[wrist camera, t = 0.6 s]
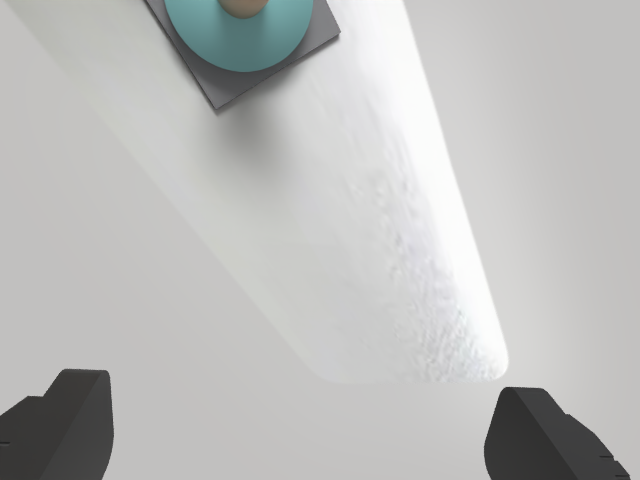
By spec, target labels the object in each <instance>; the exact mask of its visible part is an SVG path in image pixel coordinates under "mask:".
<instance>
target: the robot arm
mask: <svg viewBox="0 0 640 480" xmlns="http://www.w3.org/2000/svg"><path fill="white" fill-rule="evenodd" d="M110 385H111V384H110V376H109V373H108V371H106V370H83V369H64V370H62V371H61V372H60V373H59V375H58V376H57V377H56V379H55V380H54V382H53V383H52V385H51V386H50V388H49V389H48V390H47V392H46V393H45V394H44V396H43V397H40V396H39V397H38V396H27V397H26V398H25V399H23V400H22V401H20V402H19V403H17V404H16V405H15V406H13V407H12V408H10V409H9V410H8V411H6V412H5V413H3V414H2V415H1V416H0V480H102V478H103V475H104V473H105V471H106V468H107V466H108V463H109V459H110V456H111V452H112V446H113V438H114V428H113V413H112V399H111V386H110ZM484 457H485V464H486V468H487V471H488V474H489V476H490V478H491V480H630V477H629V476H630V475H629V474H628V473H627V472H626V470H625V469H624V468H623V467H622V466H621V464H620V463H619V462H618V461H614V458H613V455H612V454H611V453H610V451H609V450H608V449H607V448H606V447H605V445H604V444H603V443H602V442H601V441H600V439H599V438H598V437H597V436H596V435H595V434H594V433H593V432H592V431H590V430H589V429H588V428H587V427H585V426H584V425H583V424H581V423H580V422H579V421H577V420H576V419H575V418H573V417H572V416H571V415H570V414H569V415H568V414H565V413H564V412H563V411H562V409H561V408H560V407H559V406H558V405H557V403H556V402H555V401H554V399H553V398H552V397H551V396H550V395H549V393H548V392H547V391H545V390H544V389H541V388H525V387H522V388H521V387H506V388H504V389H503V390H502V391H501V393H500V395H499V398H498V401H497V405H496V408H495V411H494V414H493V417H492V421H491V424H490V427H489V430H488V434H487V437H486V440H485V445H484Z"/></svg>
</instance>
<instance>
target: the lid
mask: <svg viewBox="0 0 640 480" xmlns="http://www.w3.org/2000/svg"><path fill="white" fill-rule="evenodd" d="M164 1H165V5H166V8H167V12H168V14H169V17H170V19H171V22H172V24H173V25H174V27H175V29H176V31H177V32H178V34H179V35H180V37H181V38H182V39H183V41H184V42H185V43H186V44H187V45H188V46H189V48H190V49H192V50H193V51H194V52H195V53H196V54H197V55H198V56H200V57H201V58H203V59H204V60H206V61H207V62H209V63H211V64H213V65H215V66H217V67H220V68H223V69H226V70H231V71H237V72H252V71H257V70H262V69H265V68H267V67H270V66H273V65H275V64H276V63H278V62H280V61H282V60H283V59H284V58H286V57H287V56H288V55H289V54H290V53H291V52H292V51H293V50H294V49H295V48H296V47H297V45H298V44H299V43H300V41H301V40H302V38H303V36H304V34H305V32H306V30H307V28H308V25H309V22H310V18H311V14H312V8H313V0H164Z"/></svg>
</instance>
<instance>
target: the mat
mask: <svg viewBox="0 0 640 480" xmlns="http://www.w3.org/2000/svg"><path fill="white" fill-rule="evenodd" d="M147 2H148V3H149V5H150V7H151V8H152V10H153V11H154V13H155V14H156V16H157V18H158V19H159V21H160V22H161V24H162V25H163V27H164V29H165V30H166V32H167V33H168V35H169V36H170V38H171V40H172V41H173V43H174V44H175V46H176V48H177V49H178V51H179V52H180V54H181V55H182V57H183V59H184V60H185V62H186V63H187V65H188V66H189V68H190V70H191V71H192V73H193V74H194V76H195V77H196V79H197V81H198V82H199V84H200V85H201V87H202V89H203V90H204V92H205V93H206V95H207V96H208V98H209V100H210V101H211V103H212V104H213V106H214V107H215V109H218V108H219V107H221V106H222V105H224V104H226V103H227V102H229V101H231V100H232V99H234V98H235V97H237V96H239V95H240V94H242V93H243V92H245V91H247V90H248V89H250V88H252V87H253V86H255V85H256V84H258V83H260V82H261V81H263V80H265V79H266V78H268V77H269V76H271V75H273V74H274V73H276V72H278V71H279V70H281V69H282V68H284V67H286V66H287V65H289V64H291V63H292V62H294V61H295V60H297V59H299V58H300V57H302V56H303V55H305V54H307V53H308V52H310V51H312V50H313V49H315V48H316V47H318V46H320V45H321V44H323V43H325V42H326V41H328V40H329V39H331V38H333V37H334V36H336V35H338V34H339V33H341V31H340V29H339V27H338V24H337V22H336V20H335V18H334V16H333V14H332V12H331V10H330V8H329V6H328V4H327V1H326V0H313V8H312V14H311V18H310V22H309V25H308V28H307V30H306V32H305V34H304V36H303V38H302V40H301V41H300V43H299V44H298V45H297V47H296V48H295V49H294V50H293V51H292V52H291V53H290V54H289V55H288V56H287V57H286V58H284V59H283V60H282V61H280V62H278V63H276V64H275V65H273V66H270V67H267V68H265V69H262V70H257V71H252V72H237V71H231V70H226V69H223V68H220V67H217V66H215V65H213V64H211V63H209V62H207V61H206V60H204V59H203V58H201V57H200V56H198V55H197V54H196V53H195V52H194V51H193V50H192V49H190V48H189V46H188V45H187V44H186V43H185V42H184V41H183V39H182V38H181V37H180V35H179V34H178V32H177V31H176V29H175V27H174V25H173V24H172V22H171V19H170V17H169V14H168V12H167V8H166V5H165V1H164V0H147Z"/></svg>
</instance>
